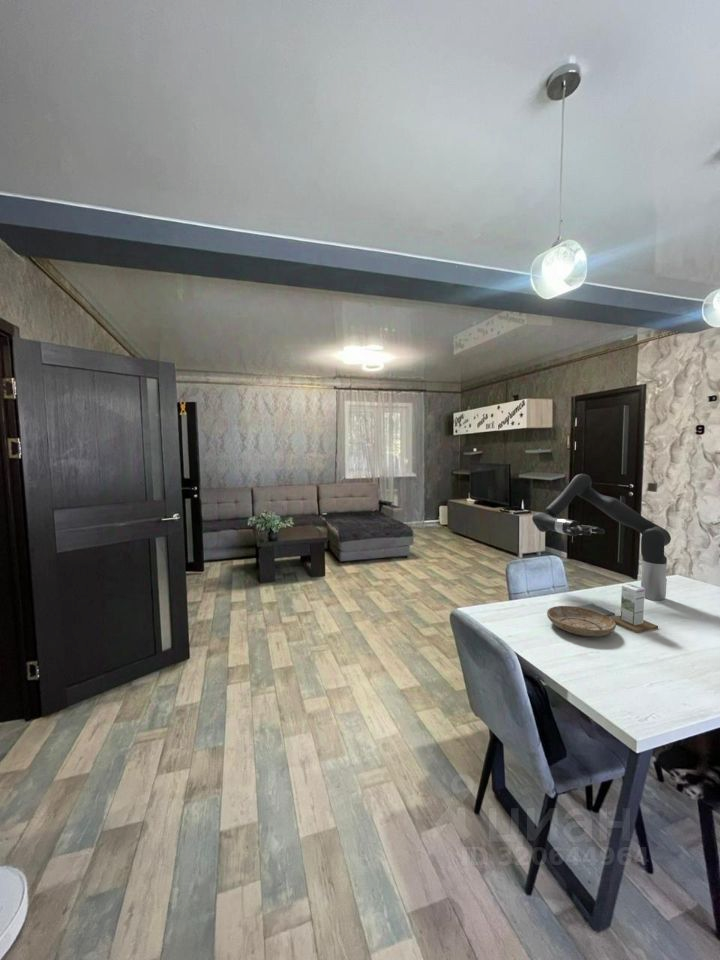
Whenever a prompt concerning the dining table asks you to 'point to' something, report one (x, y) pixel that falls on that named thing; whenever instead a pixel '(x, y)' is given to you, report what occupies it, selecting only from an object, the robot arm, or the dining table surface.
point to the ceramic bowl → (581, 620)
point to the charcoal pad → (597, 609)
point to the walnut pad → (635, 628)
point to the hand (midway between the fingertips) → (597, 532)
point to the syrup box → (632, 604)
